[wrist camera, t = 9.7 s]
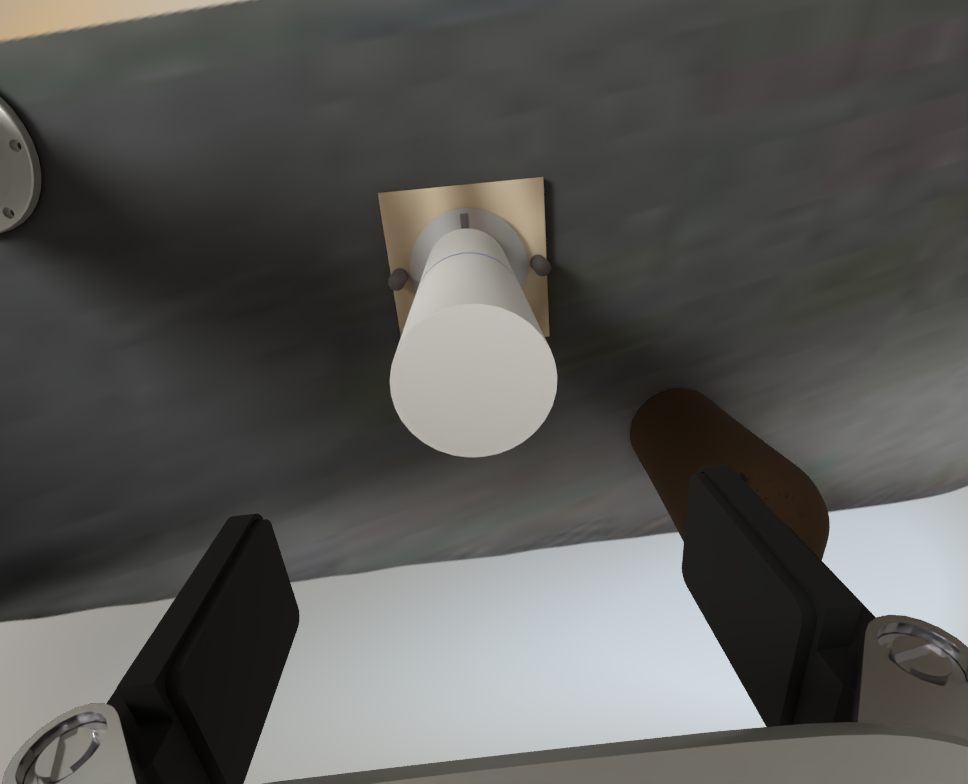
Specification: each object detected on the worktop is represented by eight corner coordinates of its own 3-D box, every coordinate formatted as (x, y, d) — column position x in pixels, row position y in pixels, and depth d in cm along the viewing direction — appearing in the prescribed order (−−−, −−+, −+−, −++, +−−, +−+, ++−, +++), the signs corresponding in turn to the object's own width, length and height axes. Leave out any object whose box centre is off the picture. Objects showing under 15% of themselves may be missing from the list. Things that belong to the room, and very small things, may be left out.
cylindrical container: (495, 217, 42) (534, 281, 20) (517, 297, 45) (573, 432, 23) (415, 242, 43) (363, 333, 20) (441, 320, 46) (422, 474, 23)
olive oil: (603, 444, 54) (711, 643, 31) (665, 364, 51) (837, 519, 28) (679, 485, 56) (830, 696, 33) (742, 411, 53) (959, 589, 30)
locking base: (404, 347, 49) (399, 361, 45) (379, 193, 43) (372, 194, 39) (547, 333, 49) (555, 346, 45) (541, 177, 43) (549, 177, 39)
